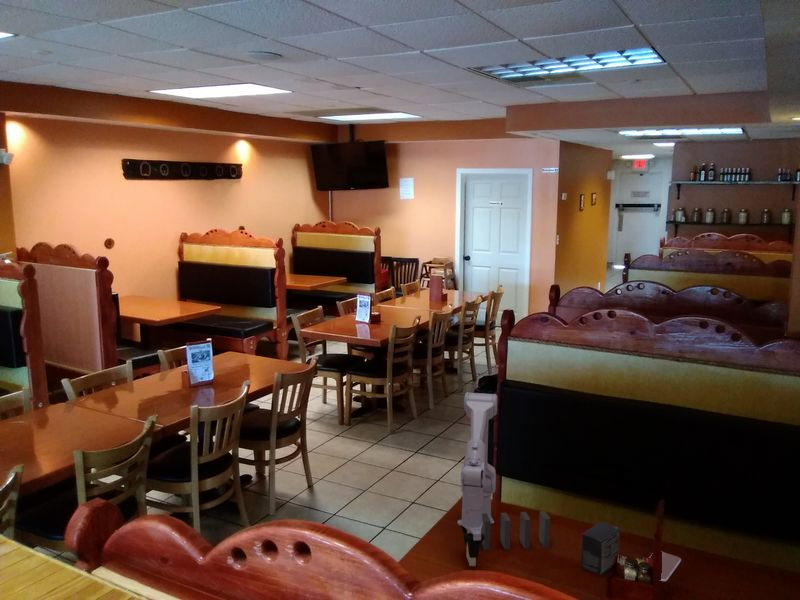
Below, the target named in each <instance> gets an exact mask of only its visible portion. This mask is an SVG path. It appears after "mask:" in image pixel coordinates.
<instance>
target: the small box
mask: <svg viewBox="0 0 800 600" xmlns="http://www.w3.org/2000/svg"><path fill="white" fill-rule="evenodd" d="M620 529H621V528H620V527H619V526H615V525H612V524H610V523H607V522H604V521H600V522H597V523H596V524H595V525H592V527H590V528H589V529H587V530H585V531H584V532H583V533H582V537H581V538H582V540H581V544H582V545H581V569H584V570H585V569H586V571H588V570H589V571H588V572H590V571H591V572H590V573H592V572H593V574H595V573H596V574H595V575H597V574H598V576H599V575H601V576H603V575H604V574H605V573H607V571H610V569H612V568H613V567H614V566H613V563H614V559H615V556H617V555H619V556H620V535H621V534H620V533H621V531H620ZM612 566H613V567H612ZM602 574H603V575H602Z"/></svg>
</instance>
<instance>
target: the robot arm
mask: <svg viewBox="0 0 800 600" xmlns="http://www.w3.org/2000/svg"><path fill="white" fill-rule="evenodd" d="M463 401H464V402H463V411H464V412H465V413H466V417H468V418H469V419H470V440H469V441H468V442H466V444H465V453H464V460H463V465H462V466H461V471H460V483H461V493H462V495H461V497H462V499H461V500H462V502H461V503H462V504H461V519H458V520H457V525H458V526H460V527H461V528H460V529H461V531H462V535H463V540H464V541H463V543H464V546H465V548H467V544H468V552H469V556H470V558H478V556H479V553H480V549H481V546H482V542H483V541H484V539H485V535H484V534H481V529H482V525H483V521H482V514H485V513H487V515H488V517H489V519H490V521H491V524H494V523H495V520H494V519H493V516H492V515H491V514H492V513H491V512H492V510H491V509H492V508H491V506H492V494H494V493H495V492H496V488H497V487H496V485H497V474H496V469H495V467H494V466H492V465H491V464H489V463H488V452H489V450H488V447H489V446H488V444H489V443H488V442H489V420H491V419H493V418H494V416H497V411H498V395H497V394H496V393H482V392H481V393H480V392H469V391H467V392H466V393H465V394H464V399H463ZM467 530H468V531H469V532H471V533H467Z"/></svg>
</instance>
